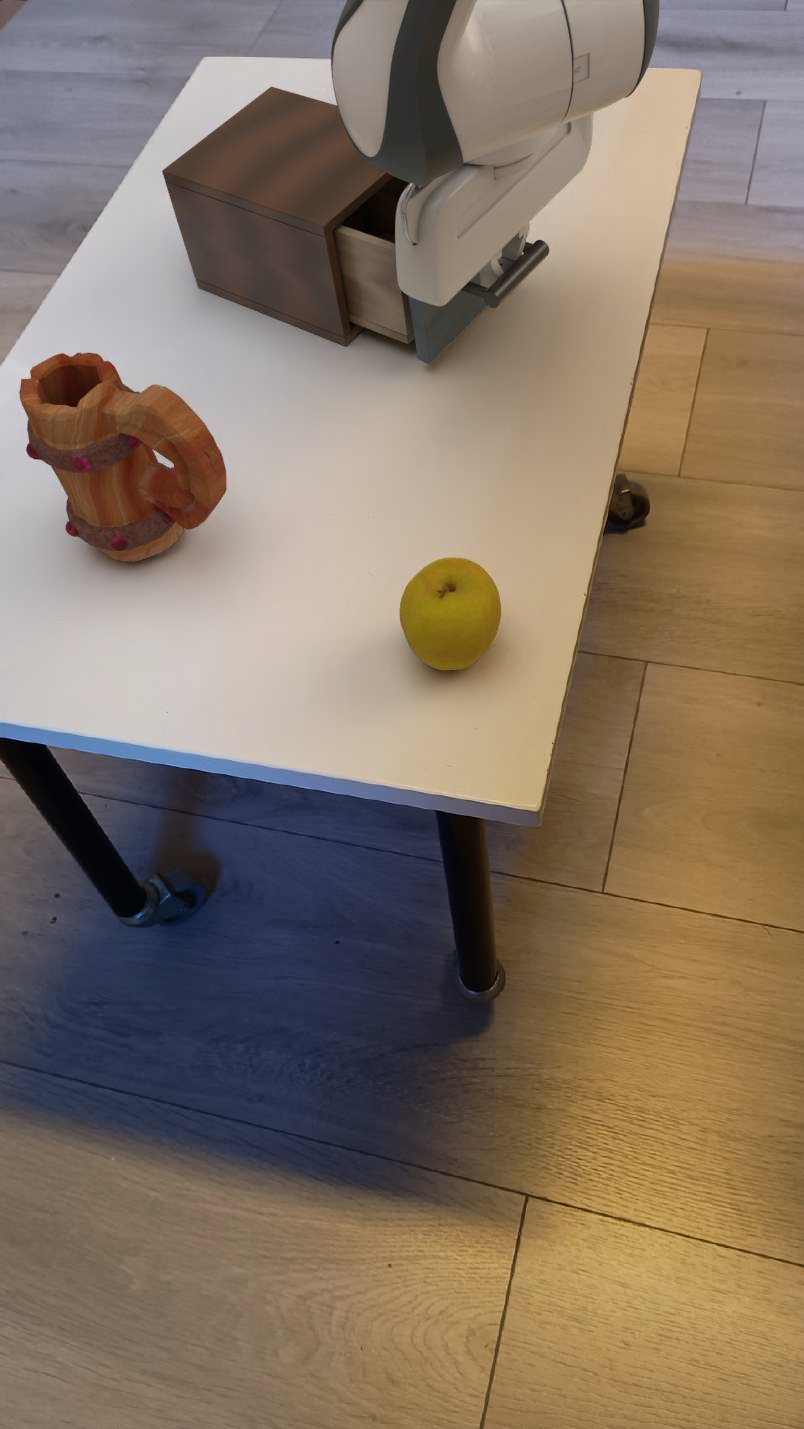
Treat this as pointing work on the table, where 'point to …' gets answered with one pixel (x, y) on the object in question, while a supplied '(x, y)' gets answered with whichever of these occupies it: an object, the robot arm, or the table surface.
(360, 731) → the table surface
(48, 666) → the table surface
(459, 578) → the apple
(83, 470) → the mug
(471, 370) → the table surface
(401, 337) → the drawer
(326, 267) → the cabinet
